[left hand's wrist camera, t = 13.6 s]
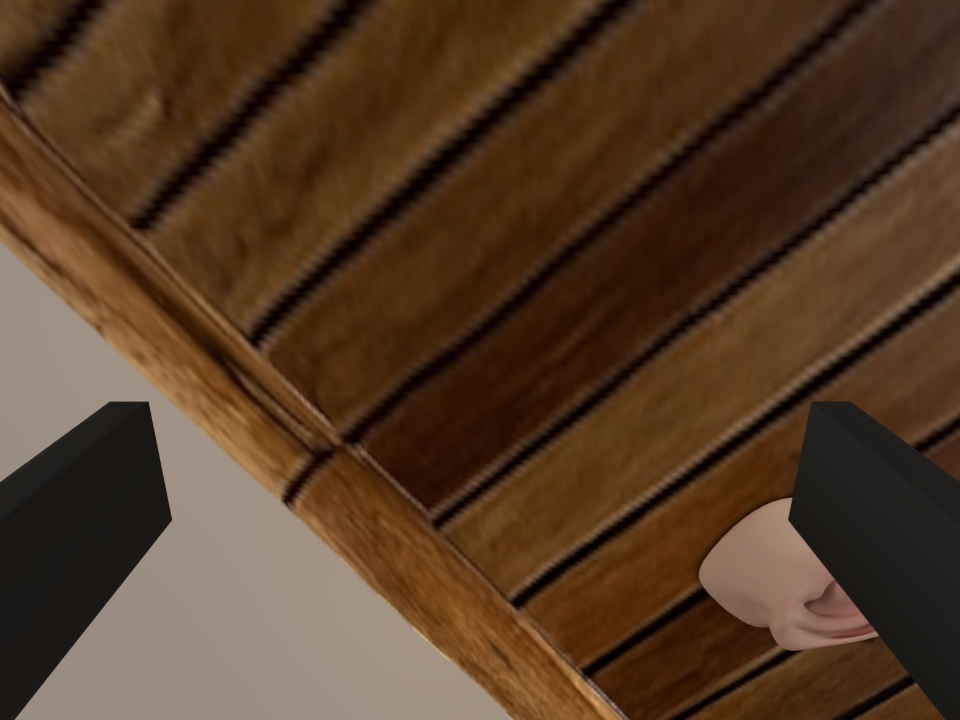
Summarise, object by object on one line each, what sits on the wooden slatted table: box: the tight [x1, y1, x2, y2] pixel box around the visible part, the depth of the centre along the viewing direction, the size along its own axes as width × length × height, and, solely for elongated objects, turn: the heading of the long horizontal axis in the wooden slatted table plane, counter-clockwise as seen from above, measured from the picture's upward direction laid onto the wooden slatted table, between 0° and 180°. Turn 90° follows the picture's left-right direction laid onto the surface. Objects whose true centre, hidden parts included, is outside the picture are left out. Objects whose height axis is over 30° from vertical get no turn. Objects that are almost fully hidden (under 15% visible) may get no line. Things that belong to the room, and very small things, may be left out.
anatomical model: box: [699, 498, 879, 651], centre depth 41 cm, size 13×4×12 cm
